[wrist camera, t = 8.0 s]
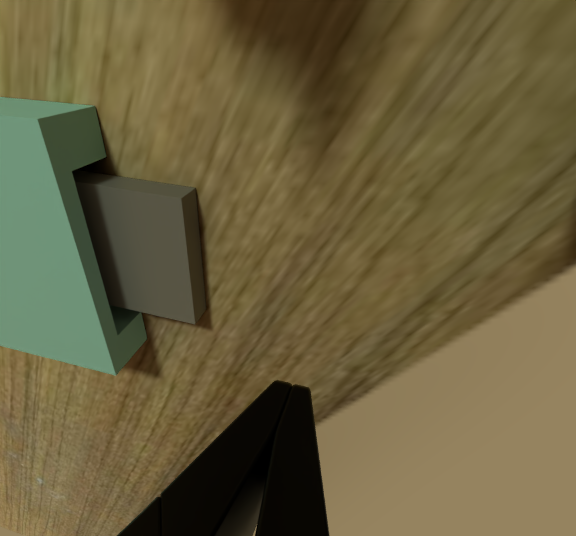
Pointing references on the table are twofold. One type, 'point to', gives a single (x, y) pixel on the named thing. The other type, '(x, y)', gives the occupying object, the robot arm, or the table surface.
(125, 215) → the thin grey plate
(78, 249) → the overhang
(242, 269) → the table surface
